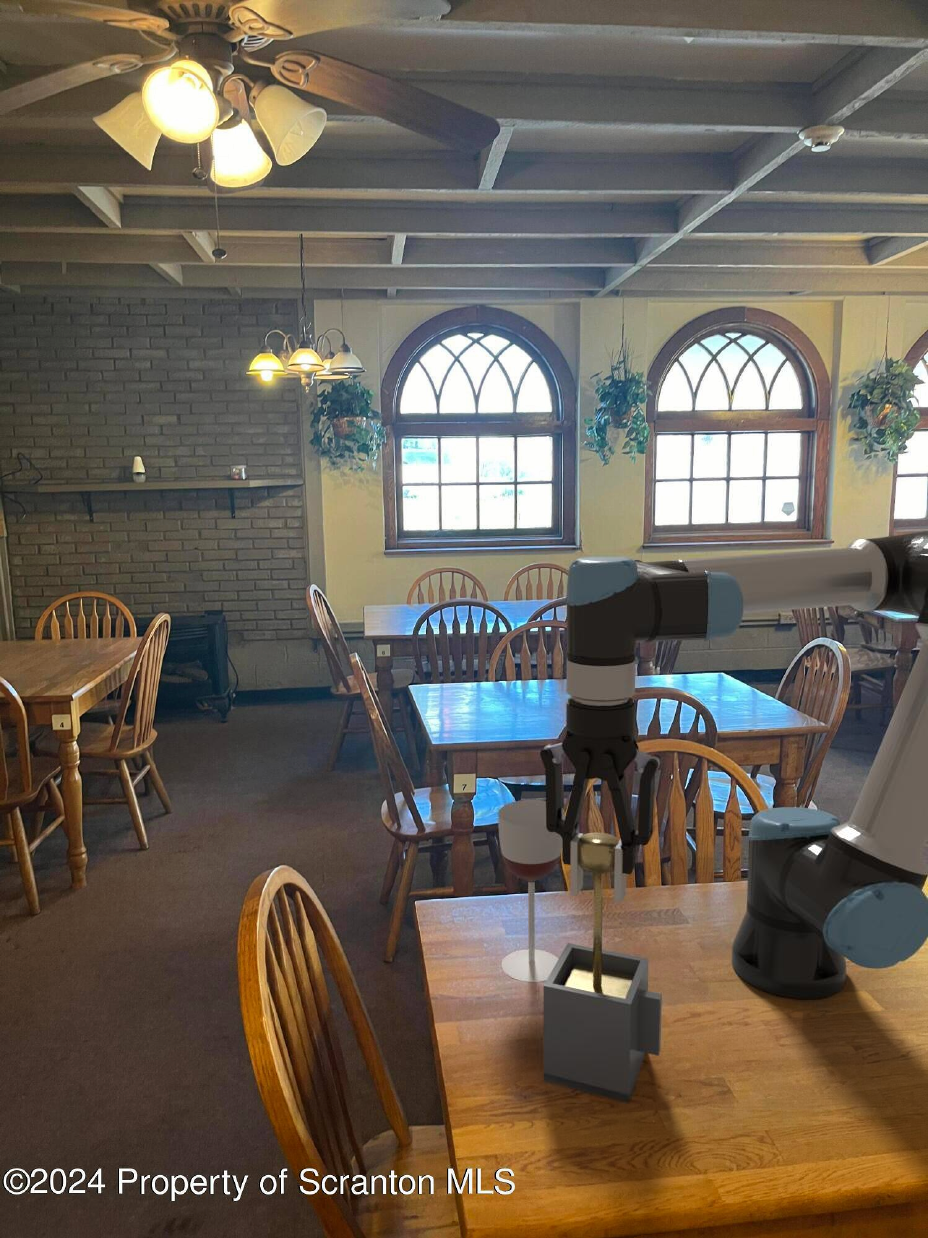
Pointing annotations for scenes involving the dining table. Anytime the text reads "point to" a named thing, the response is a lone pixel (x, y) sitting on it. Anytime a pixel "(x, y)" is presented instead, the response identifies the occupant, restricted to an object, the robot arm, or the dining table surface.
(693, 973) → the dining table surface
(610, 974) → the plunger
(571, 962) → the press pot
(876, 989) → the dining table surface
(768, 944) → the robot arm
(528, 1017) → the dining table surface
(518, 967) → the wineglass
